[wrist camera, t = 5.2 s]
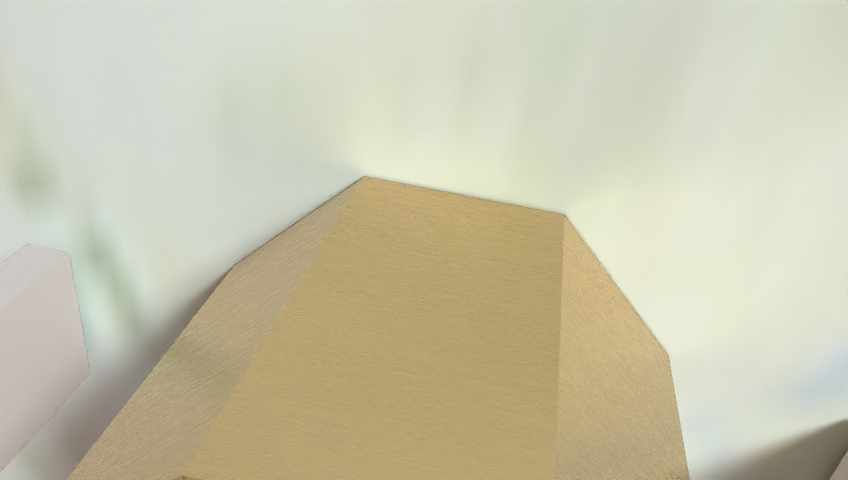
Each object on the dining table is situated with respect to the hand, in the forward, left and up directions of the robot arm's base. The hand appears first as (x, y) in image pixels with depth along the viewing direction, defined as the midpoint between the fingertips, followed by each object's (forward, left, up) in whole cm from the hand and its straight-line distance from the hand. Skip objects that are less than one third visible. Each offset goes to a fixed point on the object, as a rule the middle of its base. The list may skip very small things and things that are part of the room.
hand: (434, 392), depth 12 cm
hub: (0, 0, 0) cm, 0 cm away
